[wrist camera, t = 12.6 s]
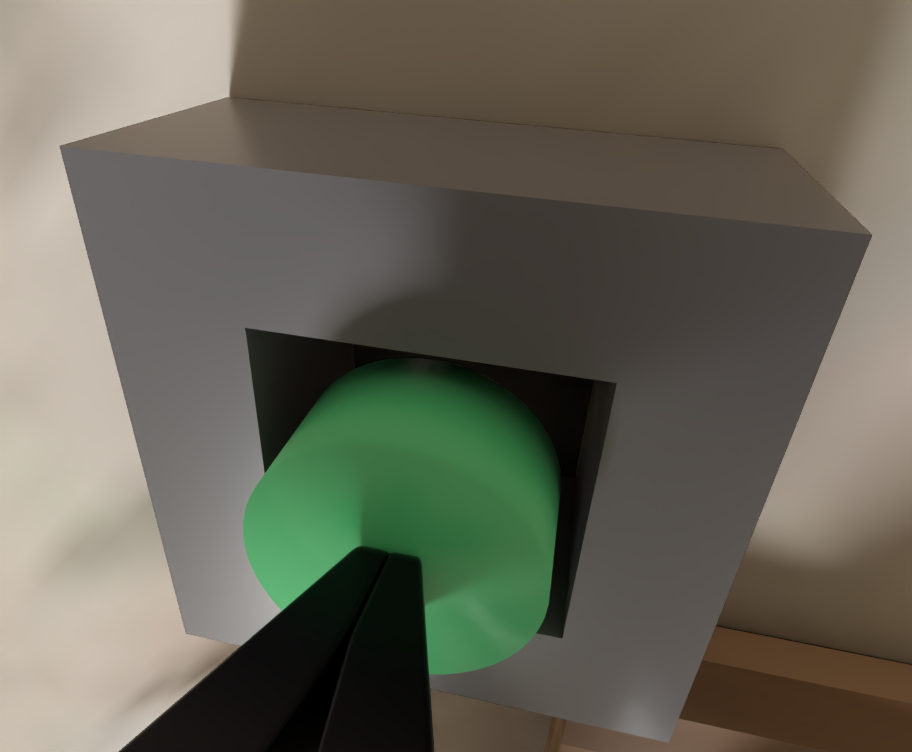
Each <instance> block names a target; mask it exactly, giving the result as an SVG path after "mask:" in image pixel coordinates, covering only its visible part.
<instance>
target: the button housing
mask: <svg viewBox="0 0 912 752" xmlns="http://www.w3.org/2000/svg"><path fill="white" fill-rule="evenodd" d="M60 150H61V153H62V157H63V161H64V165H65V169H66V173H67V177H68V180H69V184H70V188H71V192H72V196H73V200H74V204H75V207H76V211H77V215H78V219H79V223H80V227H81V231H82V234H83V238H84V242H85V246H86V250H87V254H88V258H89V261H90V265H91V269H92V273H93V277H94V281H95V285H96V288H97V292H98V296H99V300H100V304H101V308H102V312H103V315H104V319H105V323H106V327H107V331H108V335H109V339H110V343H111V346H112V350H113V354H114V358H115V362H116V366H117V370H118V373H119V377H120V381H121V385H122V389H123V393H124V397H125V400H126V404H127V408H128V412H129V416H130V420H131V424H132V427H133V431H134V435H135V439H136V443H137V447H138V451H139V454H140V458H141V462H142V466H143V470H144V474H145V478H146V481H147V485H148V489H149V493H150V497H151V501H152V505H153V508H154V512H155V516H156V520H157V524H158V528H159V532H160V536H161V539H162V543H163V547H164V551H165V555H166V559H167V563H168V566H169V570H170V574H171V578H172V582H173V586H174V590H175V593H176V597H177V601H178V605H179V609H180V613H181V617H182V620H183V624H184V628H185V632H186V634H190V635H195V636H199V637H203V638H208V639H212V640H217V641H221V642H226V643H230V644H234V645H239V646H242V645H243V644H244V643H245V642H246V641H247V640H249V639H250V638H251V637H252V636H253V635H254V634H256V633H257V632H258V631H259V630H260V629H261V628H262V627H264V626H265V625H266V624H267V623H268V622H269V621H271V620H272V619H273V618H274V617H275V616H276V615H278V614H279V613H280V612H281V611H282V610H281V609H280V608H279V607H278V606H277V605H276V603H275V602H274V601H273V600H272V599H271V598H270V597H269V595H268V594H267V592H266V591H265V590H264V588H263V587H262V585H261V584H260V582H259V580H258V579H257V577H256V575H255V573H254V572H253V569H252V567H251V564H250V562H249V559H248V557H247V553H246V549H245V545H244V538H243V520H244V513H245V509H246V506H247V502H248V500H249V498H250V496H251V494H252V492H253V490H254V488H255V487H256V485H257V484H258V482H259V481H260V480H261V478H262V477H263V475H264V474H265V473H266V471H267V470H268V468H269V467H270V466H271V464H272V463H273V461H274V460H275V459H276V457H277V456H278V454H279V453H280V452H281V450H282V449H283V448H284V446H285V445H286V443H287V442H288V441H289V439H290V438H291V436H292V435H293V434H294V432H295V431H296V429H297V428H298V427H299V425H300V424H301V422H302V421H303V420H304V418H305V417H306V415H307V414H308V413H309V411H310V410H311V408H312V407H313V406H314V404H315V403H316V401H317V400H318V399H319V397H320V396H321V395H322V394H323V392H324V391H325V390H326V389H327V388H328V387H329V386H330V385H331V384H332V383H334V382H335V381H336V380H337V379H339V378H340V377H342V376H343V375H345V374H346V373H348V372H350V371H352V370H354V345H353V344H358V345H365V346H371V347H378V348H385V349H391V350H398V351H405V352H412V353H418V354H425V355H432V356H439V357H445V358H452V359H459V360H465V361H472V362H479V363H486V364H492V365H499V366H506V367H513V368H519V369H526V370H533V371H539V372H546V373H553V374H560V375H566V376H573V377H580V378H587V379H593V380H594V381H593V386H592V392H591V397H590V402H589V407H588V413H587V418H586V423H585V428H584V434H583V439H582V444H581V449H580V455H579V460H578V465H577V470H576V475H575V478H571V477H565V476H561V492H560V502H559V511H558V521H557V530H556V540H555V550H554V559H553V569H552V578H551V588H550V597H549V605H548V608H547V612H546V615H545V618H544V620H543V622H542V624H541V626H540V628H539V630H538V631H537V632H536V634H535V635H534V636H533V637H532V639H531V640H530V641H529V642H528V643H527V644H526V645H525V646H524V647H522V648H521V649H520V650H519V651H518V652H516V653H515V654H513V655H511V656H510V657H508V658H507V659H505V660H503V661H500V662H498V663H496V664H494V665H491V666H488V667H485V668H482V669H478V670H474V671H469V672H463V673H455V674H429V680H430V689H433V690H437V691H442V692H446V693H451V694H455V695H460V696H464V697H468V698H473V699H477V700H482V701H486V702H490V703H495V704H499V705H504V706H508V707H513V708H517V709H521V710H526V711H530V712H535V713H539V714H543V715H548V716H552V717H557V718H561V719H566V720H570V721H574V722H579V723H583V724H588V725H592V726H596V727H601V728H605V729H610V730H614V731H619V732H623V733H627V734H632V735H636V736H641V737H645V738H649V739H654V740H658V741H663V742H667V743H669V741H670V739H671V736H672V734H673V731H674V729H675V726H676V724H677V721H678V719H679V716H680V714H681V711H682V709H683V706H684V704H685V701H686V699H687V696H688V694H689V691H690V689H691V686H692V684H693V681H694V679H695V676H696V674H697V671H698V669H699V666H700V664H701V661H702V659H703V656H704V654H705V651H706V649H707V646H708V644H709V641H710V639H711V636H712V634H713V631H714V629H715V626H716V624H717V621H718V619H719V616H720V614H721V611H722V609H723V606H724V604H725V601H726V599H727V596H728V594H729V591H730V589H731V586H732V584H733V581H734V579H735V576H736V574H737V571H738V569H739V566H740V564H741V561H742V559H743V556H744V554H745V551H746V549H747V546H748V544H749V541H750V539H751V536H752V534H753V531H754V529H755V526H756V524H757V521H758V519H759V516H760V514H761V511H762V509H763V506H764V504H765V501H766V499H767V496H768V494H769V491H770V489H771V486H772V484H773V481H774V479H775V476H776V474H777V472H778V469H779V467H780V464H781V462H782V459H783V457H784V454H785V452H786V449H787V447H788V444H789V442H790V439H791V437H792V434H793V432H794V429H795V427H796V424H797V422H798V419H799V417H800V414H801V412H802V409H803V407H804V404H805V402H806V399H807V397H808V394H809V392H810V389H811V387H812V384H813V382H814V379H815V377H816V374H817V372H818V369H819V367H820V364H821V362H822V359H823V357H824V354H825V352H826V349H827V347H828V344H829V342H830V339H831V337H832V334H833V332H834V329H835V327H836V324H837V322H838V319H839V317H840V314H841V312H842V309H843V307H844V304H845V302H846V299H847V297H848V294H849V292H850V289H851V287H852V284H853V282H854V279H855V277H856V274H857V272H858V269H859V267H860V264H861V262H862V259H863V257H864V254H865V252H866V249H867V247H868V244H869V242H870V239H871V237H872V234H871V233H870V232H869V231H868V230H867V229H866V228H865V227H864V226H863V225H862V224H861V223H860V222H859V221H857V220H856V219H855V218H854V217H853V216H852V215H851V214H850V213H849V212H848V211H847V210H846V209H845V208H844V207H843V206H842V205H841V204H840V203H839V202H838V201H837V200H836V199H835V198H834V197H833V196H831V195H830V194H829V193H828V192H827V191H826V190H825V189H824V188H823V187H822V186H821V185H820V184H819V183H818V182H817V181H816V180H815V179H814V178H813V177H812V176H811V175H810V174H809V173H808V172H807V171H806V170H804V169H803V168H802V167H801V166H800V165H799V164H798V163H797V162H796V161H795V160H794V159H793V158H792V157H791V156H790V155H789V154H788V153H787V152H786V151H785V150H784V149H778V148H767V147H757V146H746V145H735V144H724V143H714V142H703V141H692V140H681V139H670V138H660V137H649V136H638V135H627V134H617V133H606V132H595V131H584V130H574V129H563V128H552V127H541V126H530V125H520V124H509V123H498V122H487V121H477V120H466V119H455V118H444V117H434V116H423V115H412V114H401V113H390V112H380V111H369V110H358V109H347V108H337V107H326V106H315V105H304V104H294V103H283V102H272V101H261V100H251V99H240V98H229V97H227V98H224V99H220V100H217V101H213V102H210V103H206V104H203V105H199V106H196V107H193V108H189V109H186V110H182V111H179V112H175V113H172V114H168V115H165V116H161V117H158V118H155V119H151V120H148V121H144V122H141V123H137V124H134V125H130V126H127V127H123V128H120V129H117V130H113V131H110V132H106V133H103V134H99V135H96V136H92V137H89V138H85V139H82V140H79V141H75V142H72V143H68V144H65V145H61V146H60Z"/></svg>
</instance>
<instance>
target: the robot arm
mask: <svg viewBox="0 0 912 752" xmlns="http://www.w3.org/2000/svg"><path fill="white" fill-rule="evenodd" d="M119 752H434V740H433V725H432V710H431V695H430V680H429V664H428V649H427V634H426V619H425V604H424V589H423V574H422V562H421V560H420V558H419V557H416V556H411V555H406V554H401V553H391V554H390V555H389V554H388V553H387V552H386V551H384V550H380V549H375V548H370V547H365V546H359V547H356V548H354V549H353V550H352V551H351V552H349V553H348V554H347V555H346V556H345V557H344V558H342V559H341V560H340V561H339V562H338V563H337V564H335V565H334V566H333V567H332V568H331V569H330V570H328V571H327V572H326V573H325V574H324V575H323V576H322V577H320V578H319V579H318V580H317V581H316V582H315V583H313V584H312V585H311V586H310V587H309V588H308V589H306V590H305V591H304V592H303V593H302V594H301V595H300V596H298V597H297V598H296V599H295V600H294V601H293V602H291V603H290V604H289V605H288V606H287V607H286V608H284V609H283V610H282V611H281V612H280V613H279V614H278V615H276V616H275V617H274V618H273V619H272V620H271V621H269V622H268V623H267V624H266V625H265V626H264V627H262V628H261V629H260V630H259V631H258V632H257V633H256V634H254V635H253V636H252V637H251V638H250V639H249V640H247V641H246V642H245V643H244V644H243V645H242V646H240V647H239V648H238V649H237V650H236V651H235V652H233V653H232V654H231V655H230V656H229V657H228V658H227V659H225V660H224V661H223V662H222V663H221V664H220V665H218V666H217V667H216V668H215V669H214V670H213V671H211V672H210V673H209V674H208V675H207V676H206V677H205V678H203V679H202V680H201V681H200V682H199V683H198V684H196V685H195V686H194V687H193V688H192V689H191V690H189V691H188V692H187V693H186V694H185V695H184V696H183V697H181V698H180V699H179V700H178V701H177V702H176V703H174V704H173V705H172V706H171V707H170V708H169V709H167V710H166V711H165V712H164V713H163V714H162V715H161V716H159V717H158V718H157V719H156V720H155V721H154V722H152V723H151V724H150V725H149V726H148V727H147V728H145V729H144V730H143V731H142V732H141V733H140V734H138V735H137V736H136V737H135V738H134V739H133V740H132V741H130V742H129V743H128V744H127V745H126V746H125V747H123V748H122V749H121V750H120V751H119Z"/></svg>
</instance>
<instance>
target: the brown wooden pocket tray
mask: <svg viewBox="0 0 912 752" xmlns="http://www.w3.org/2000/svg"><path fill="white" fill-rule="evenodd" d="M544 752H912V665H909V664H904V663H899V662H894V661H889V660H884V659H879V658H874V657H869V656H863V655H858V654H853V653H848V652H843V651H838V650H833V649H828V648H823V647H818V646H813V645H808V644H803V643H798V642H793V641H788V640H783V639H778V638H773V637H768V636H763V635H758V634H753V633H748V632H743V631H738V630H733V629H728V628H722V627H717V626H715V629H714V631H713V634H712V636H711V639H710V641H709V644H708V646H707V649H706V651H705V654H704V656H703V659H702V661H701V664H700V666H699V669H698V671H697V674H696V676H695V679H694V681H693V684H692V686H691V689H690V691H689V694H688V696H687V699H686V701H685V704H684V706H683V709H682V711H681V714H680V716H679V719H678V721H677V724H676V726H675V729H674V731H673V734H672V736H671V739H670V741H669V743H667V742H663V741H658V740H654V739H649V738H645V737H641V736H636V735H632V734H627V733H623V732H619V731H614V730H610V729H605V728H601V727H596V726H592V725H588V724H583V723H579V722H574V721H570V720H566V719H561V718H557V717H552V718H551V723H550V727H549V732H548V736H547V741H546V745H545V750H544Z"/></svg>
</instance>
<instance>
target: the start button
mask: <svg viewBox="0 0 912 752" xmlns="http://www.w3.org/2000/svg"><path fill="white" fill-rule="evenodd" d="M560 492H561V471H560V465H559V461H558V457H557V453H556V451H555V448H554V446H553V443H552V441H551V439H550V437H549V435H548V434H547V432H546V430H545V428H544V427H543V425H542V424H541V422H540V421H539V420H538V419H537V417H536V416H535V415H534V414H533V412H532V411H531V410H530V409H529V408H528V407H527V406H526V405H525V404H524V403H523V402H522V401H521V400H520V399H519V398H517V397H516V396H515V395H514V394H512V393H511V392H510V391H508V390H507V389H506V388H504V387H503V386H501V385H500V384H498V383H496V382H495V381H493V380H491V379H490V378H488V377H486V376H484V375H482V374H479V373H477V372H475V371H473V370H471V369H468V368H465V367H462V366H459V365H456V364H453V363H449V362H444V361H439V360H434V359H425V358H393V359H387V360H380V361H376V362H373V363H369V364H366V365H363V366H361V367H358V368H356V369H354V370H352V371H350V372H348V373H346V374H345V375H343V376H342V377H340V378H339V379H337V380H336V381H335V382H334V383H332V384H331V385H330V386H329V387H328V388H327V389H326V390H325V391H324V392H323V394H322V395H321V396H320V397H319V399H318V400H317V401H316V403H315V404H314V406H313V407H312V408H311V410H310V411H309V413H308V414H307V415H306V417H305V418H304V420H303V421H302V422H301V424H300V425H299V427H298V428H297V429H296V431H295V432H294V434H293V435H292V436H291V438H290V439H289V441H288V442H287V443H286V445H285V446H284V448H283V449H282V450H281V452H280V453H279V454H278V456H277V457H276V459H275V460H274V461H273V463H272V464H271V466H270V467H269V468H268V470H267V471H266V473H265V474H264V475H263V477H262V478H261V480H260V481H259V482H258V484H257V485H256V487H255V488H254V490H253V492H252V494H251V496H250V498H249V500H248V502H247V506H246V509H245V513H244V520H243V538H244V545H245V549H246V553H247V557H248V559H249V562H250V564H251V567H252V569H253V572H254V573H255V575H256V577H257V579H258V580H259V582H260V584H261V585H262V587H263V588H264V590H265V591H266V592H267V594H268V595H269V597H270V598H271V599H272V600H273V601H274V602H275V603H276V605H277V606H278V607H279V608H280V609H281V610H283V609H284V608H286V607H287V606H288V605H289V604H290V603H291V602H293V601H294V600H295V599H296V598H297V597H298V596H300V595H301V594H302V593H303V592H304V591H305V590H306V589H308V588H309V587H310V586H311V585H312V584H313V583H315V582H316V581H317V580H318V579H319V578H320V577H322V576H323V575H324V574H325V573H326V572H327V571H328V570H330V569H331V568H332V567H333V566H334V565H335V564H337V563H338V562H339V561H340V560H341V559H342V558H344V557H345V556H346V555H347V554H348V553H349V552H351V551H352V550H353V549H354V548H356V547H359V546H365V547H370V548H375V549H380V550H384V551H386V552H387V553H388V554H389V555H390V554H391V553H401V554H406V555H411V556H416V557H419V558H420V560H421V562H422V574H423V589H424V604H425V619H426V634H427V649H428V664H429V674H455V673H463V672H469V671H474V670H478V669H482V668H485V667H488V666H491V665H494V664H496V663H498V662H500V661H503V660H505V659H507V658H508V657H510V656H511V655H513V654H515V653H516V652H518V651H519V650H520V649H521V648H522V647H524V646H525V645H526V644H527V643H528V642H529V641H530V640H531V639H532V637H533V636H534V635H535V634H536V632H537V631H538V630H539V628H540V626H541V624H542V622H543V620H544V618H545V615H546V612H547V608H548V605H549V597H550V588H551V578H552V569H553V559H554V550H555V540H556V530H557V521H558V511H559V502H560Z"/></svg>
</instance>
